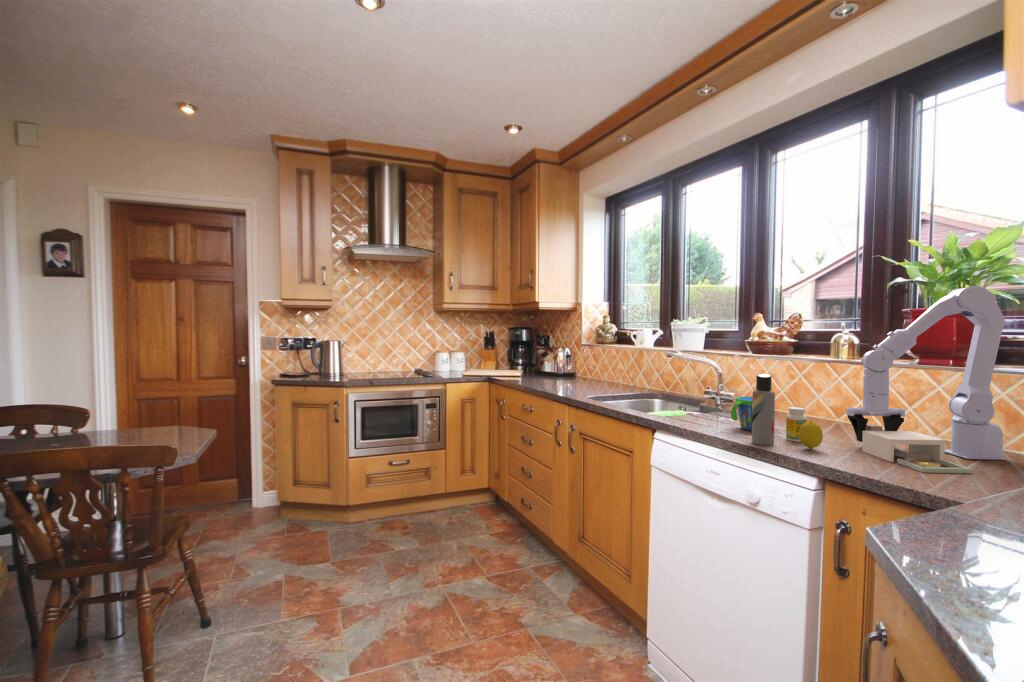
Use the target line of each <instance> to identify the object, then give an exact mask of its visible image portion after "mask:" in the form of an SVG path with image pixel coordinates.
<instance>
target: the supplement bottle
mask: <svg viewBox="0 0 1024 682" xmlns="http://www.w3.org/2000/svg"><path fill="white" fill-rule="evenodd" d="M788 412H789V413H788V414H786V418H785V421H786V422H785V423H786V425H785V434H786V435H785V437H786V440H788V441H790V442H794V443H795V442H797V443H802V442H801V441H800V438H799V430H800V427H801V426H802V425H803V424H804V423H806V422H808V417H807V416H806V415H805V412H806V409H805V408H804V407H795V406H794V407H793V406H792V407H791V406H790V407H788Z"/></svg>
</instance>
